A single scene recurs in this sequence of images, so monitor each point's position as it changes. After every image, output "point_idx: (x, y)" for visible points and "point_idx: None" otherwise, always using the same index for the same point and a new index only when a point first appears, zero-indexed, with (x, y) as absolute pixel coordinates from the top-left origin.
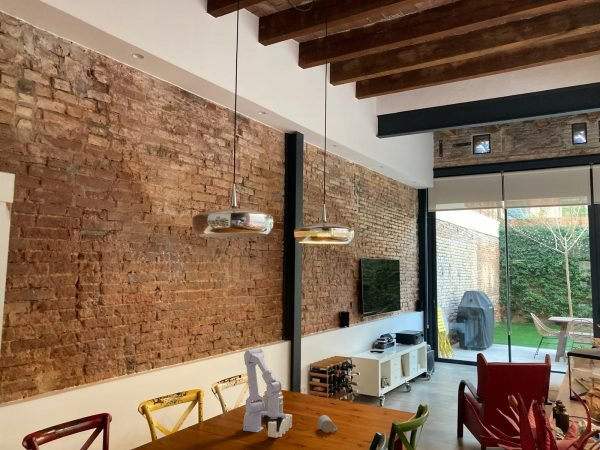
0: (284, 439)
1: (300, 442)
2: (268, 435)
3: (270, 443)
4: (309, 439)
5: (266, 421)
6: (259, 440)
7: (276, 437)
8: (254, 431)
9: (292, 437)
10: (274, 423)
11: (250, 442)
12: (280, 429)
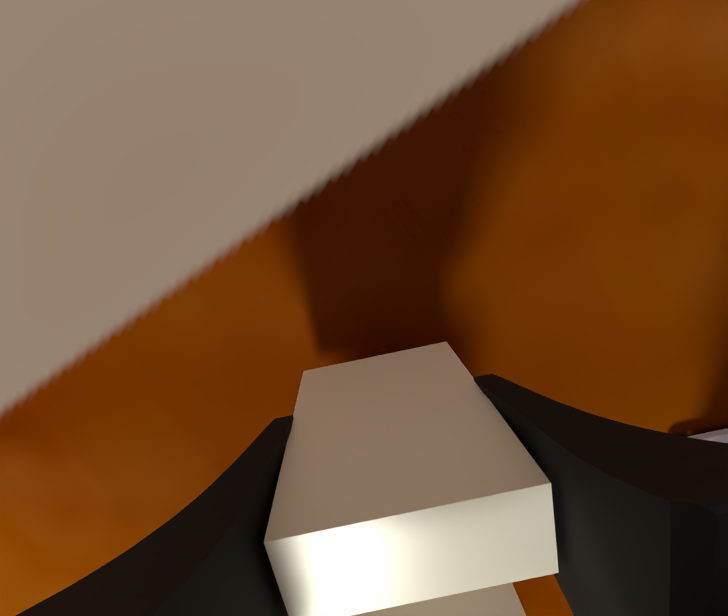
0: None
1: (25, 481)
2: (438, 349)
3: (320, 232)
4: (15, 603)
5: (610, 456)
6: (518, 237)
7: (303, 372)
8: (723, 432)
9: None
10: (341, 531)
11: (598, 89)
12: None
